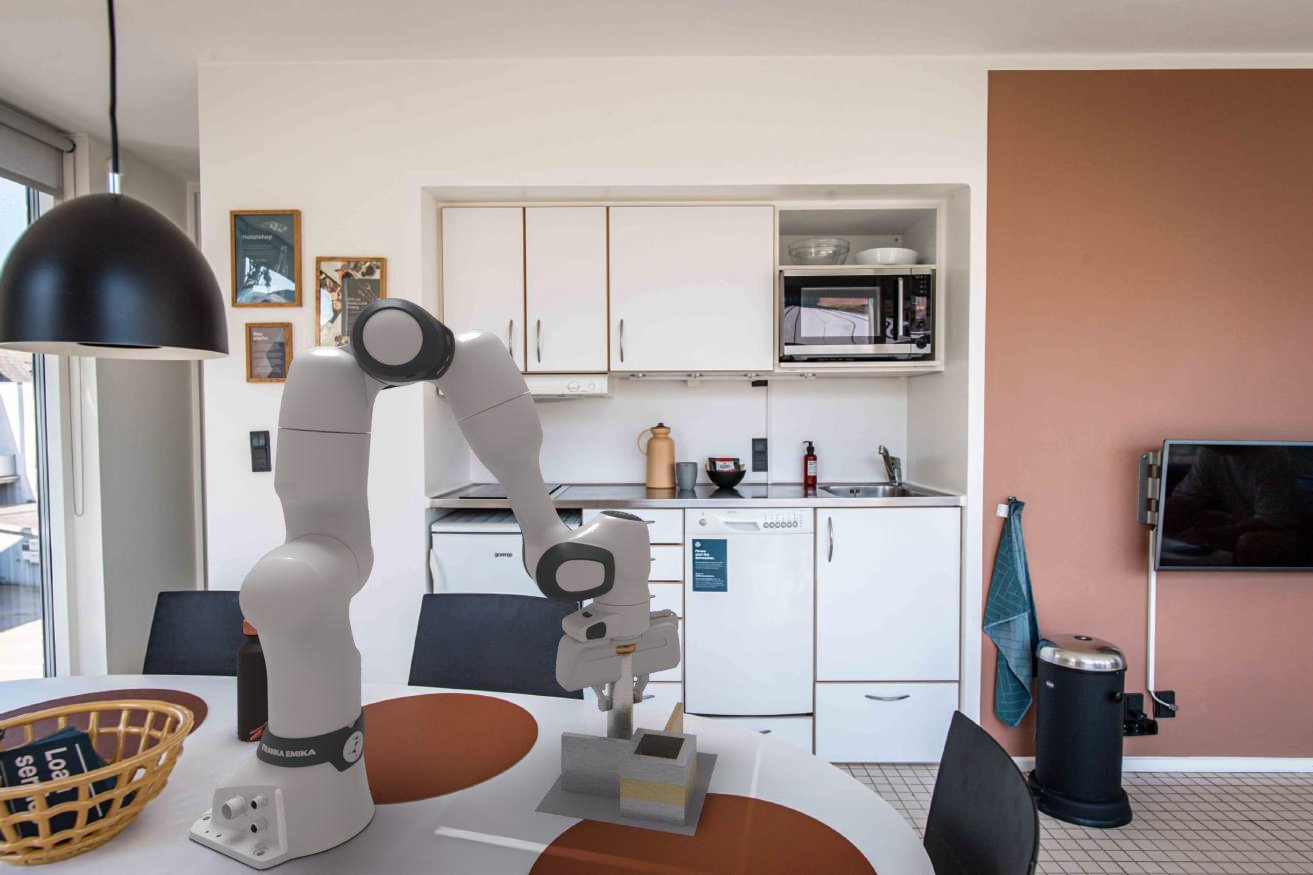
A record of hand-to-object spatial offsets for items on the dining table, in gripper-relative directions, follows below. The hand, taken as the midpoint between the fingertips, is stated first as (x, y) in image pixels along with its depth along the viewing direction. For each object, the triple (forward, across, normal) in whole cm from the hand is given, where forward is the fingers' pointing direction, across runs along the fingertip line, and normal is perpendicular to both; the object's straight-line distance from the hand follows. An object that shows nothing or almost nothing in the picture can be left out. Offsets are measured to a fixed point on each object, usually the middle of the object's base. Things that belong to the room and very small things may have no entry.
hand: (620, 705), depth 100 cm
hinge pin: (+9, 0, 0) cm, 9 cm away
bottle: (+11, +47, -43) cm, 65 cm away
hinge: (+9, 0, +4) cm, 10 cm away
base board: (+10, 0, +5) cm, 11 cm away
